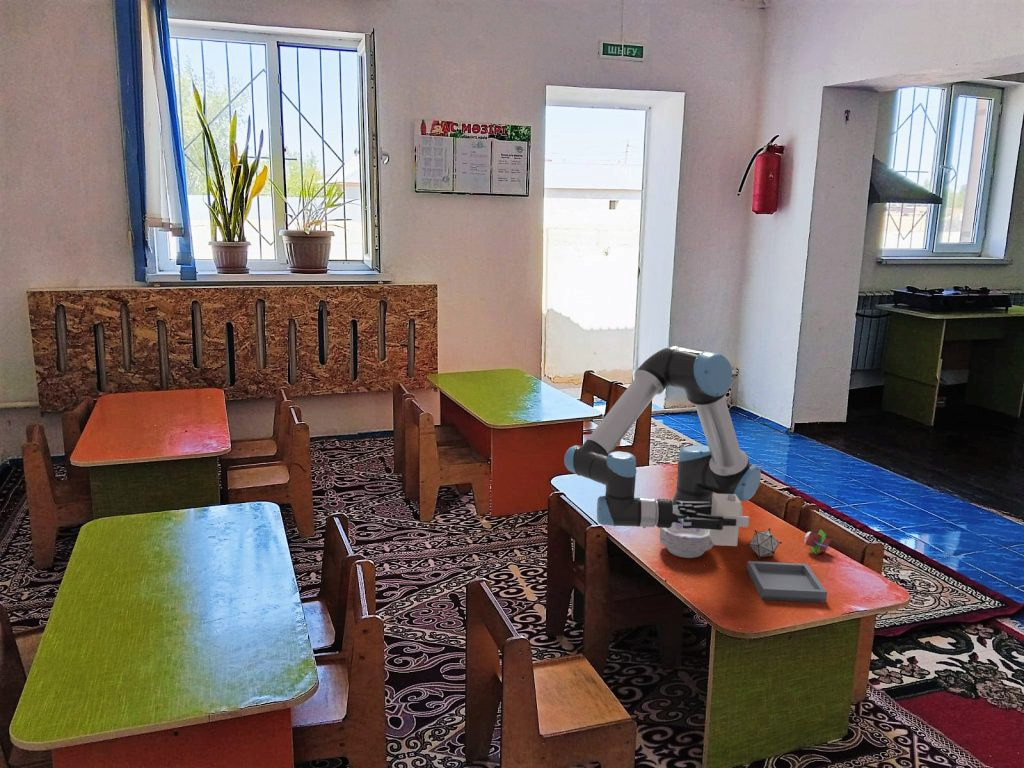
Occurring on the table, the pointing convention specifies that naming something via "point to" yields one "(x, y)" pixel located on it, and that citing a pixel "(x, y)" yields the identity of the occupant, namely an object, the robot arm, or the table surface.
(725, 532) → the carton
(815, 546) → the geometric puzzle
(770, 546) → the game die
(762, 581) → the tray
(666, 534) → the white round bowl
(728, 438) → the robot arm
